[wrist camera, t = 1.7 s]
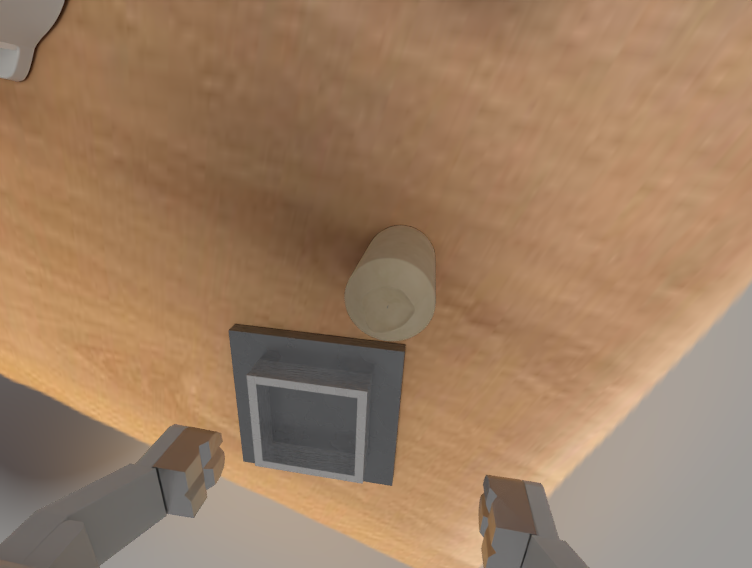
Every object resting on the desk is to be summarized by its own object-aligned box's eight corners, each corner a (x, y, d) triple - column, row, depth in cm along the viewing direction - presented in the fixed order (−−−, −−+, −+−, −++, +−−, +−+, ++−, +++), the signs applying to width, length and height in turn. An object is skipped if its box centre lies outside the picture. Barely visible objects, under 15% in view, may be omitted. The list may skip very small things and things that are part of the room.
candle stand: (248, 452, 41) (231, 481, 38) (235, 324, 35) (213, 344, 32) (393, 475, 39) (389, 508, 36) (405, 344, 33) (402, 368, 30)
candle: (406, 301, 32) (394, 370, 23) (354, 261, 31) (320, 316, 22) (450, 253, 30) (456, 307, 20) (395, 209, 29) (376, 245, 20)
